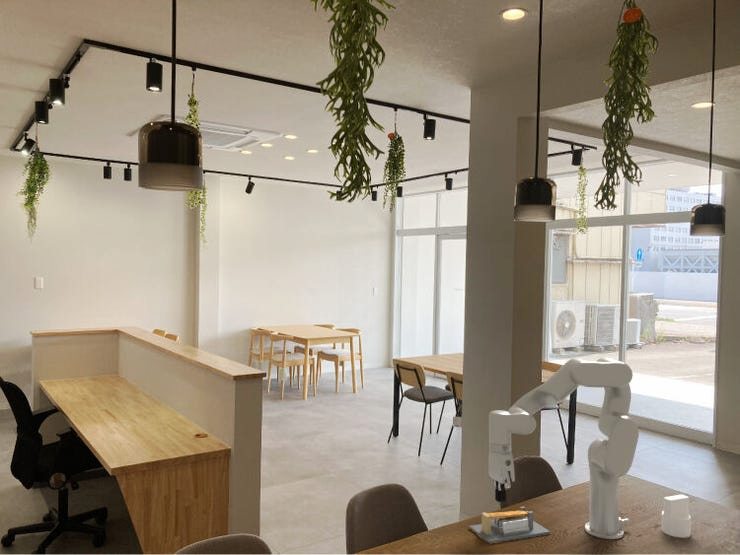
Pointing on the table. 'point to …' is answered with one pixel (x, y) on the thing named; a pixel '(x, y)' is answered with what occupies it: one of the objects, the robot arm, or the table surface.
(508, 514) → the strap
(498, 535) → the cpu board
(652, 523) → the table surface
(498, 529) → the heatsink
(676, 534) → the white tapered canister
